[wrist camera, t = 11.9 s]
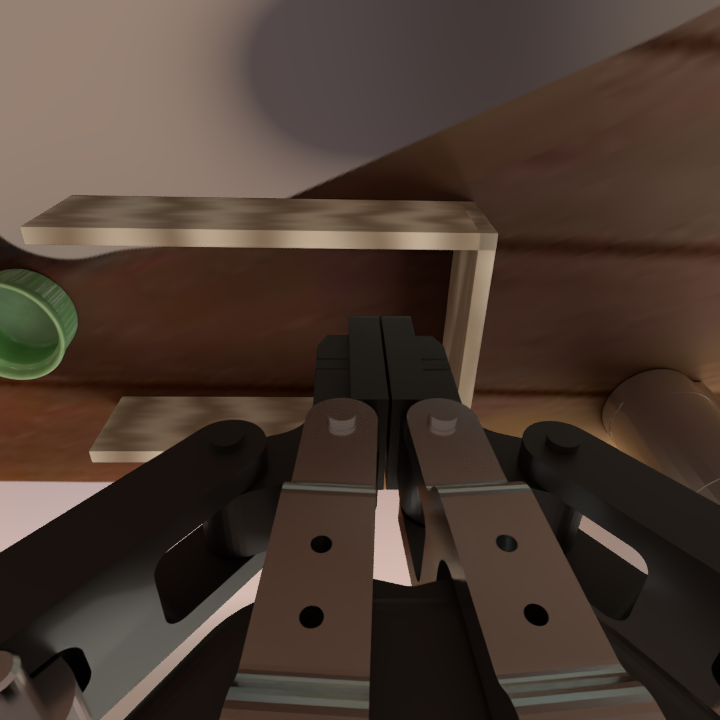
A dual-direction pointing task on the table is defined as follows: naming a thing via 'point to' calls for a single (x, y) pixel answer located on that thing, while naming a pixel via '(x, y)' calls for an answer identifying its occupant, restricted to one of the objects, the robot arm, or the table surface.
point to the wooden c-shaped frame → (274, 230)
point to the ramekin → (33, 324)
